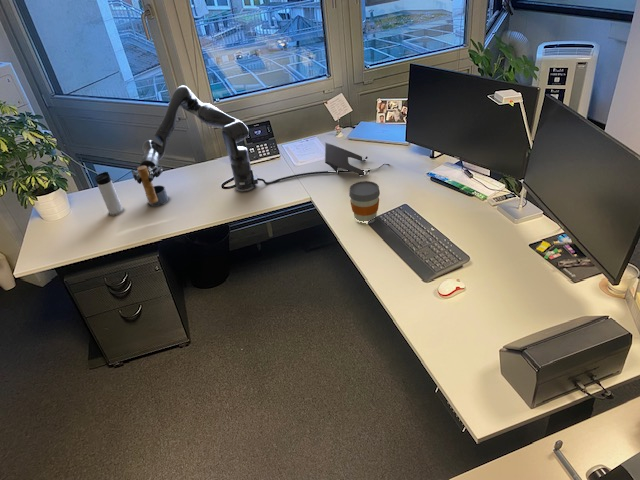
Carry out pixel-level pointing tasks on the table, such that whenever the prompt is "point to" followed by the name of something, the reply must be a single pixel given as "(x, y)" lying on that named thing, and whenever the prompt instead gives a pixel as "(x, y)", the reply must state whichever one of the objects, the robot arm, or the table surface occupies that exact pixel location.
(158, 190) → the pen cup
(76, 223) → the table surface
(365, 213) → the reusable coffee cup
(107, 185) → the travel mug
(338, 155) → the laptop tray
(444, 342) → the table surface
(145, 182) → the wooden rod
